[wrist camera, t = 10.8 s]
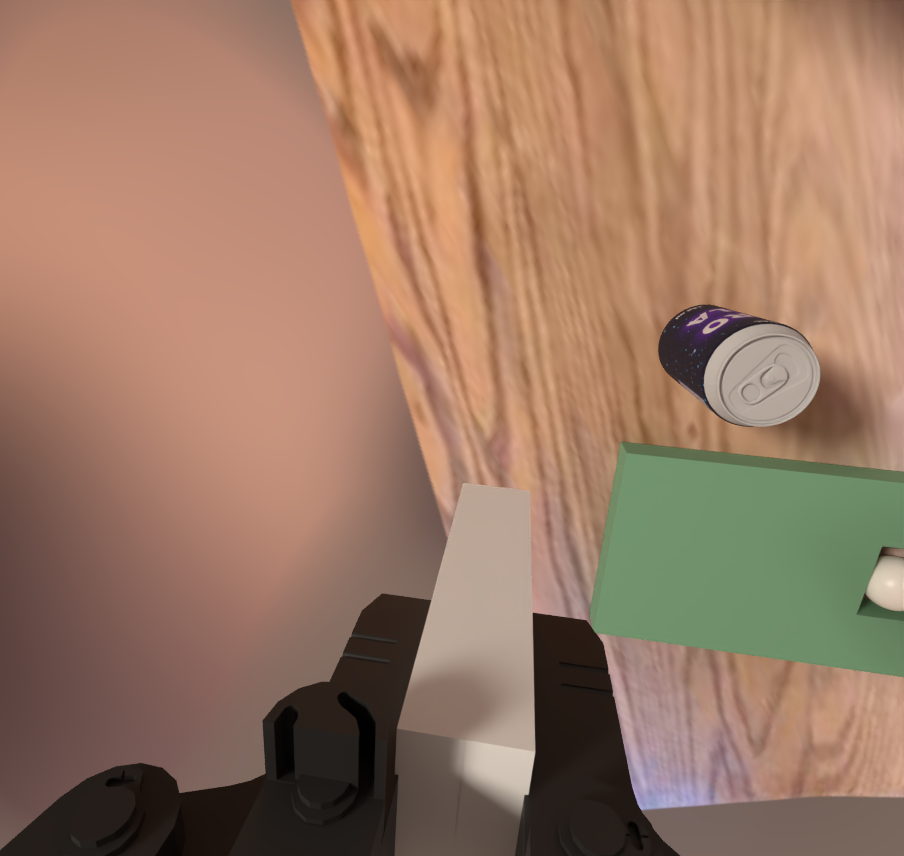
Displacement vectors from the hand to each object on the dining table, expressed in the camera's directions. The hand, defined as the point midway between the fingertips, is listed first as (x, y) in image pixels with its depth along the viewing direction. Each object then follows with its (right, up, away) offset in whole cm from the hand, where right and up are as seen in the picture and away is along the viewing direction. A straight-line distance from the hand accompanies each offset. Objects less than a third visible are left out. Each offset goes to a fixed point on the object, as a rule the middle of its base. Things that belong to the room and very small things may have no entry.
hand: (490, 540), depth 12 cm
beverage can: (+17, +9, +26) cm, 32 cm away
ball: (+31, -9, +29) cm, 43 cm away
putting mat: (+26, -8, +30) cm, 40 cm away
